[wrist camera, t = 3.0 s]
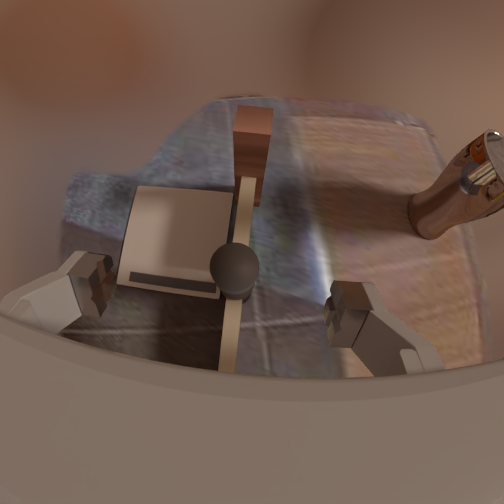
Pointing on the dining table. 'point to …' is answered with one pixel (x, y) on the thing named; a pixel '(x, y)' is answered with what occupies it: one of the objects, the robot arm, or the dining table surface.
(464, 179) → the beer glass
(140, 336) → the dining table surface
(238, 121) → the fence gate
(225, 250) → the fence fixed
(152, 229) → the card
